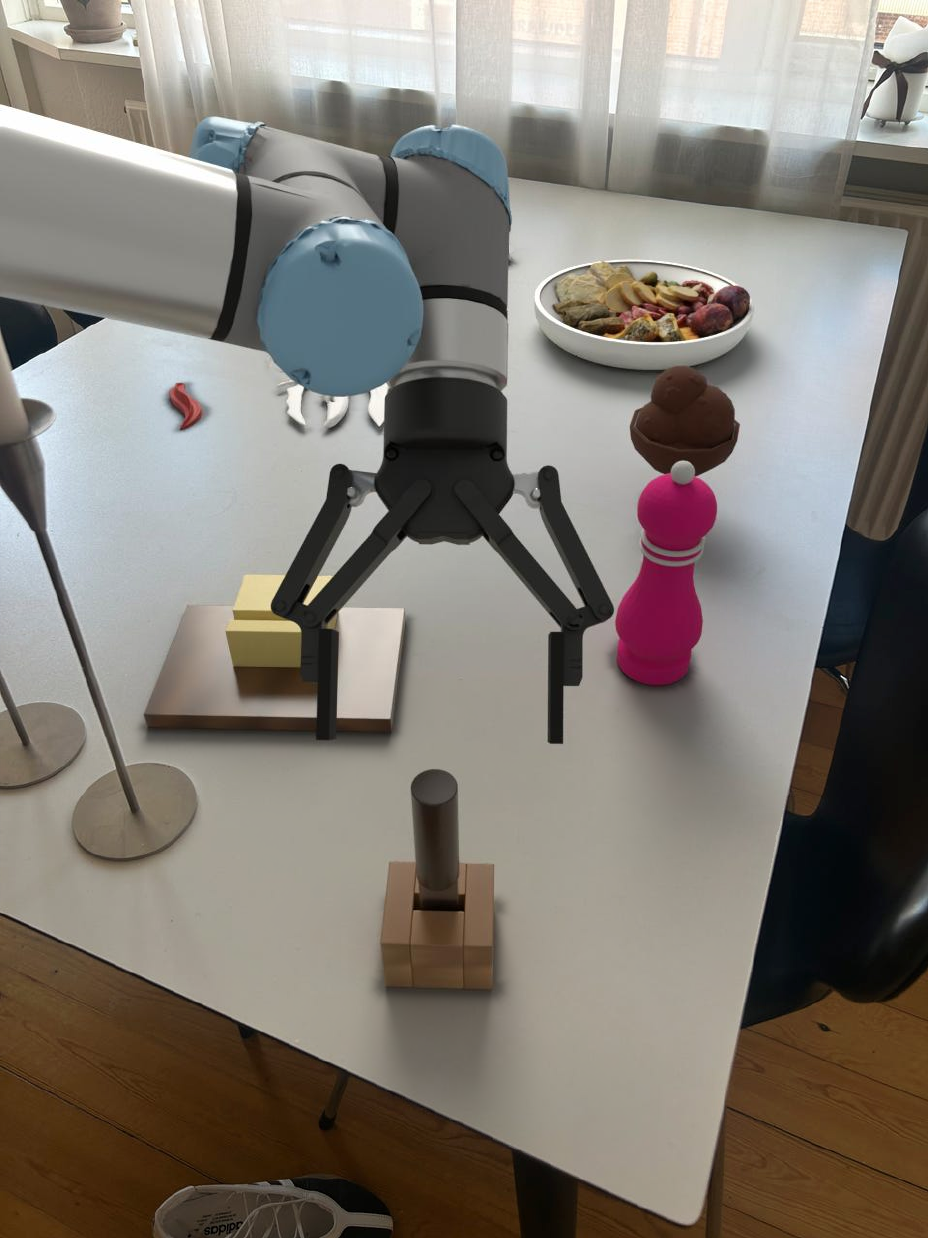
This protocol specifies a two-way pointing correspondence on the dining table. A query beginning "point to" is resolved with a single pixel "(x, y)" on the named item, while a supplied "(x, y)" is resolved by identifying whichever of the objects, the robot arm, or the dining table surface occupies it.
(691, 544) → the pepper mill
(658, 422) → the ice cream bowl
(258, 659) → the butter slice
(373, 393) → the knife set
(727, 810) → the dining table surface
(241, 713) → the butter board
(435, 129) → the robot arm
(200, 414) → the cayenne pepper
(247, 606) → the butter block
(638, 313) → the bowl
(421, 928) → the knife stand
